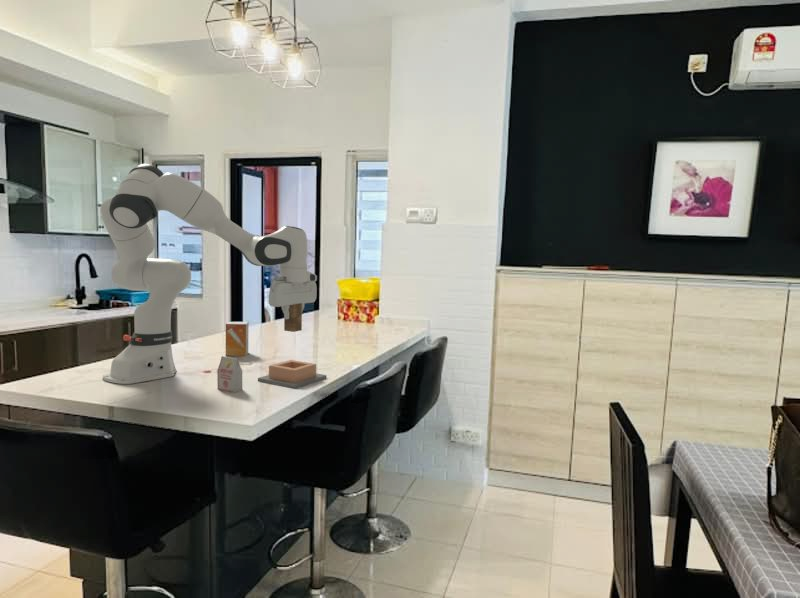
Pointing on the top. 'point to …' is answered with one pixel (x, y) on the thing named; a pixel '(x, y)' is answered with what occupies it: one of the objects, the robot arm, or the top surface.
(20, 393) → the top surface
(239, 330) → the small box
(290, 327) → the tall wooden block
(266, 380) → the tan square frame
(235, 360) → the white carton
